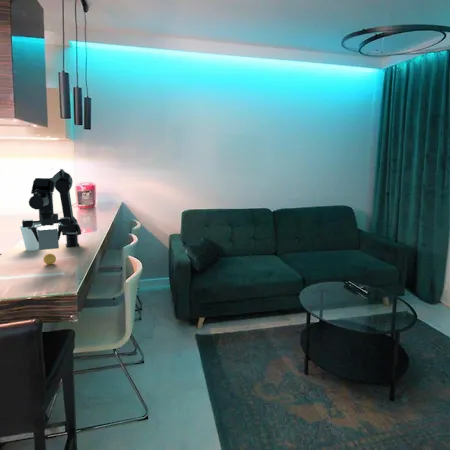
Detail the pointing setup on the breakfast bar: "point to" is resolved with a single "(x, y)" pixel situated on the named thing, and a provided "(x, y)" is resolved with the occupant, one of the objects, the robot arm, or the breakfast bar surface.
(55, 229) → the matte grey cube
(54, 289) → the breakfast bar surface
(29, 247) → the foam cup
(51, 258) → the ball
